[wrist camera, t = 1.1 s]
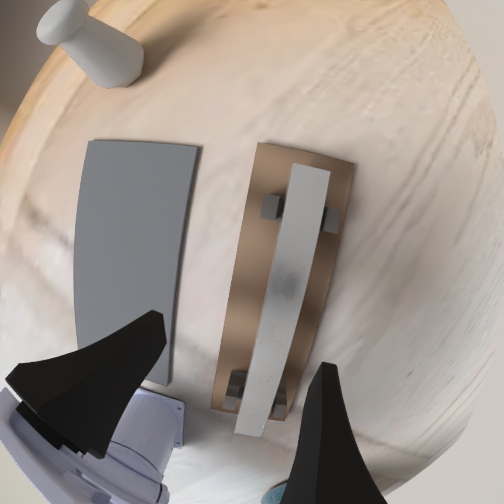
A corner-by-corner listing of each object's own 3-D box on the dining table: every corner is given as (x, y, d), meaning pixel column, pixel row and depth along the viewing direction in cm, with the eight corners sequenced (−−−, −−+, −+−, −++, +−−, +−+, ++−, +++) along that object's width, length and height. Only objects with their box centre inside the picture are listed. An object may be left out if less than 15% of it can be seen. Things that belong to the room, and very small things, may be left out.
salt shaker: (156, 45, 20) (97, -27, 7) (147, 90, 21) (68, 26, 8) (110, 56, 21) (42, 3, 8) (99, 99, 21) (15, 56, 9)
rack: (284, 414, 26) (285, 446, 21) (212, 401, 26) (202, 433, 21) (350, 165, 21) (370, 155, 16) (258, 145, 22) (255, 128, 16)
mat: (169, 383, 26) (167, 386, 25) (81, 350, 26) (78, 352, 26) (199, 148, 22) (197, 146, 21) (92, 141, 22) (88, 140, 22)
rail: (261, 420, 22) (260, 437, 20) (237, 415, 22) (234, 432, 20) (323, 175, 18) (330, 171, 16) (290, 168, 18) (293, 162, 16)
